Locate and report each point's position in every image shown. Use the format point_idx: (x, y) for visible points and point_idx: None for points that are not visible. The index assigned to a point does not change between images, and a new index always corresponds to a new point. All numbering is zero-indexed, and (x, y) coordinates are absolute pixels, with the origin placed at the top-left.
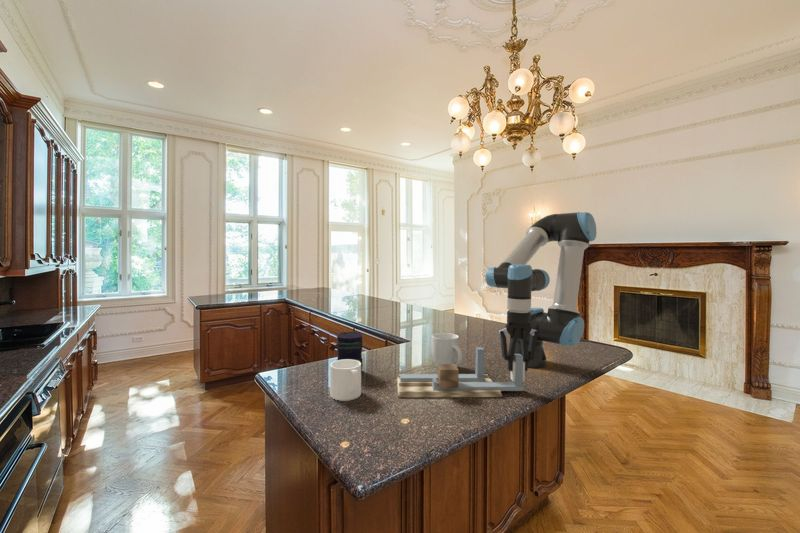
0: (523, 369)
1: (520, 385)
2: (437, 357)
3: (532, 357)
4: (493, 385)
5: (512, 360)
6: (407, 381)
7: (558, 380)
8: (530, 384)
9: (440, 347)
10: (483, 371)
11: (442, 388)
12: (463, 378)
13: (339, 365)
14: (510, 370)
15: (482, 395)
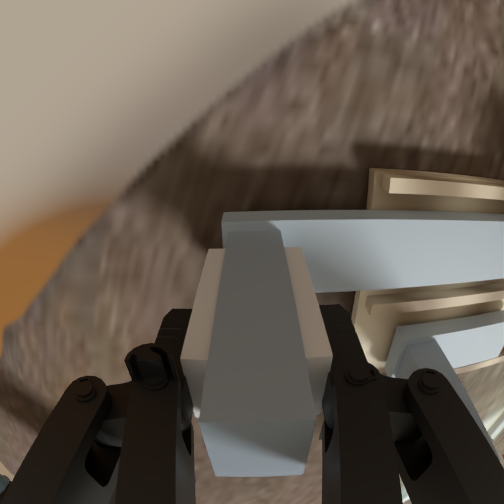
0: (207, 305)
1: (242, 234)
2: (490, 436)
3: (75, 397)
4: (415, 240)
5: (348, 373)
6: None
7: (42, 354)
8: (152, 330)
9: (502, 464)
10: (421, 367)
11: None
12: (488, 324)
13: None
14: (332, 308)
15: (466, 177)
